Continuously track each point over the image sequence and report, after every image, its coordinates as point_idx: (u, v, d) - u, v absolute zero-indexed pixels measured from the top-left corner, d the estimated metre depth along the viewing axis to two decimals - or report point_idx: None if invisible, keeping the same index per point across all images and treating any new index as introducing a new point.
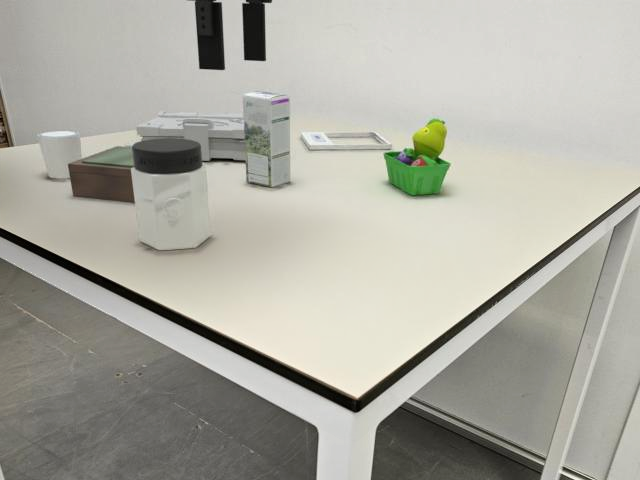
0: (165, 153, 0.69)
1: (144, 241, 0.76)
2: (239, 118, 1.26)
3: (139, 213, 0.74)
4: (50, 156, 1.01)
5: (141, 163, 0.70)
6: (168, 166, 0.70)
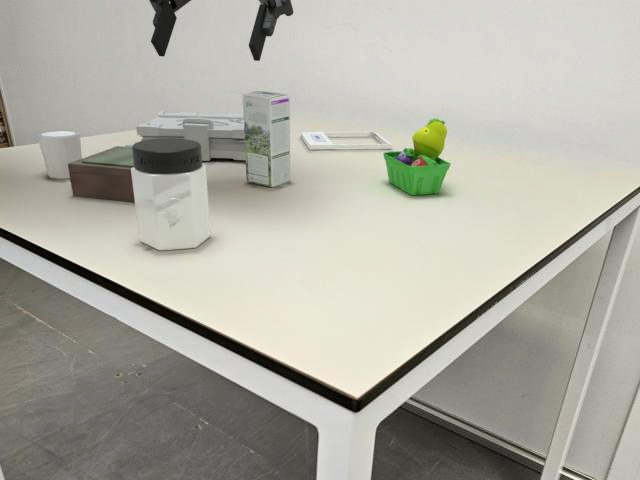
0: (165, 153, 0.69)
1: (144, 241, 0.76)
2: (239, 118, 1.26)
3: (139, 213, 0.74)
4: (50, 156, 1.01)
5: (141, 163, 0.70)
6: (168, 166, 0.70)
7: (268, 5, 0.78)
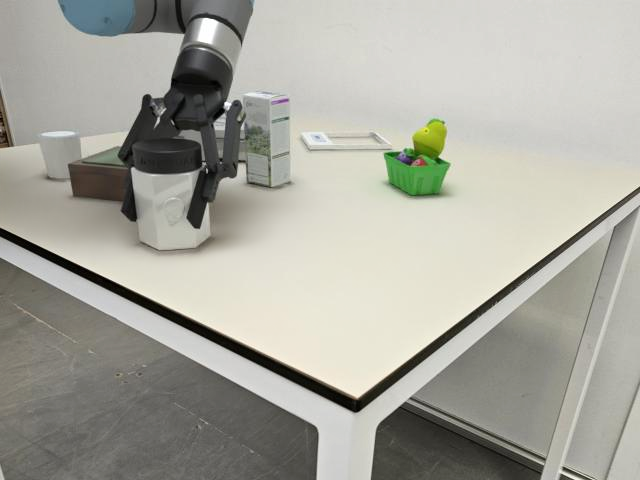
0: (165, 153, 0.69)
1: (144, 241, 0.76)
2: None
3: (139, 213, 0.74)
4: (50, 156, 1.01)
5: (141, 163, 0.70)
6: (168, 166, 0.70)
7: (208, 170, 0.73)
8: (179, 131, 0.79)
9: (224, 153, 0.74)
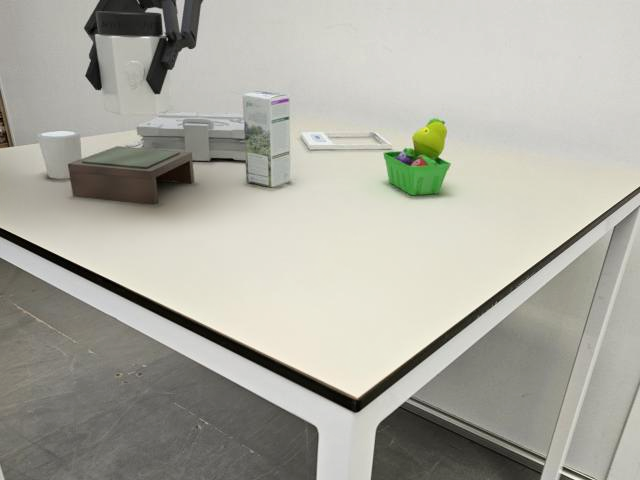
0: (125, 14, 0.74)
1: (108, 109, 0.81)
2: (239, 118, 1.26)
3: (103, 80, 0.79)
4: (50, 156, 1.01)
5: (103, 25, 0.75)
6: (128, 28, 0.74)
7: (167, 38, 0.78)
8: (144, 10, 0.83)
9: (183, 22, 0.78)
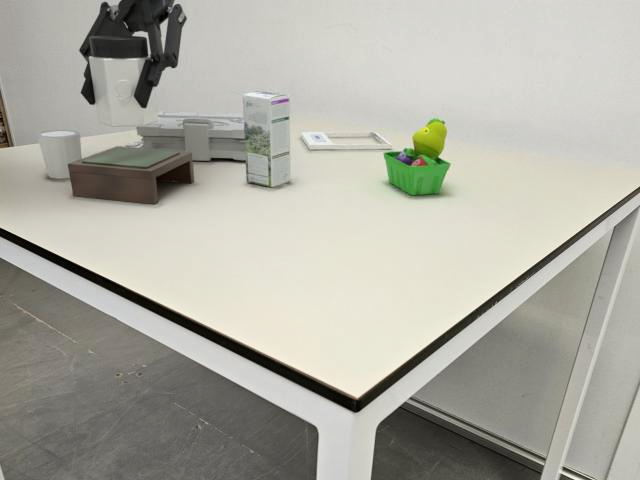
0: (115, 40, 0.85)
1: (101, 121, 0.92)
2: (239, 118, 1.26)
3: (96, 96, 0.90)
4: (50, 156, 1.01)
5: (96, 49, 0.86)
6: (118, 51, 0.86)
7: (152, 59, 0.89)
8: (131, 33, 0.95)
9: (166, 45, 0.89)
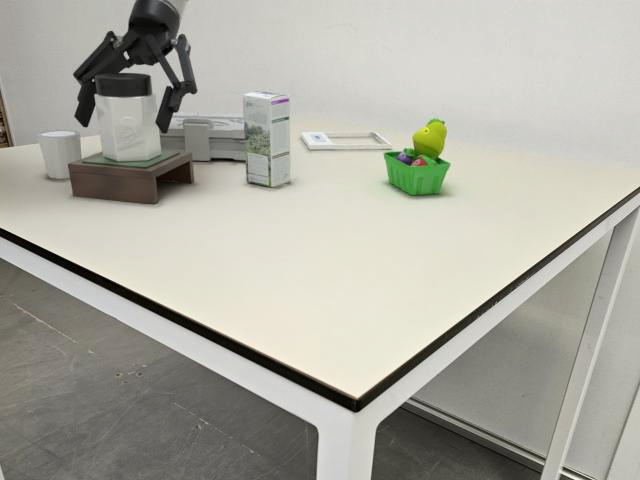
0: (120, 79, 0.87)
1: (106, 156, 0.94)
2: (239, 118, 1.26)
3: (102, 132, 0.93)
4: (50, 156, 1.01)
5: (101, 88, 0.88)
6: (123, 90, 0.88)
7: (174, 86, 0.91)
8: (131, 64, 0.97)
9: (184, 73, 0.91)
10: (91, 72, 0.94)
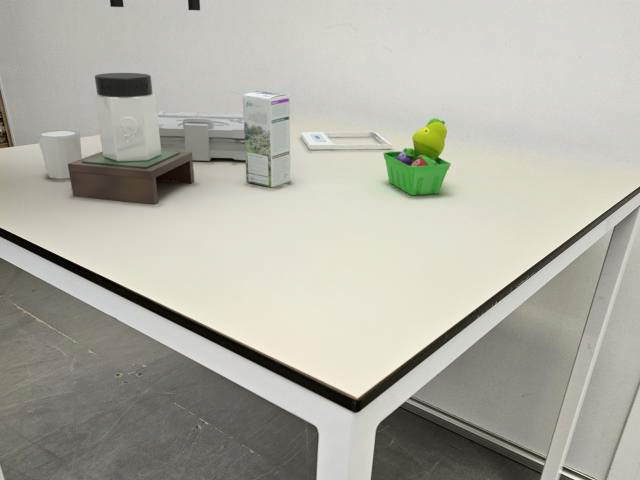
0: (120, 79, 0.87)
1: (106, 156, 0.94)
2: (239, 118, 1.26)
3: (102, 132, 0.93)
4: (50, 156, 1.01)
5: (101, 88, 0.88)
6: (123, 90, 0.88)
7: None
8: None
9: None
10: None
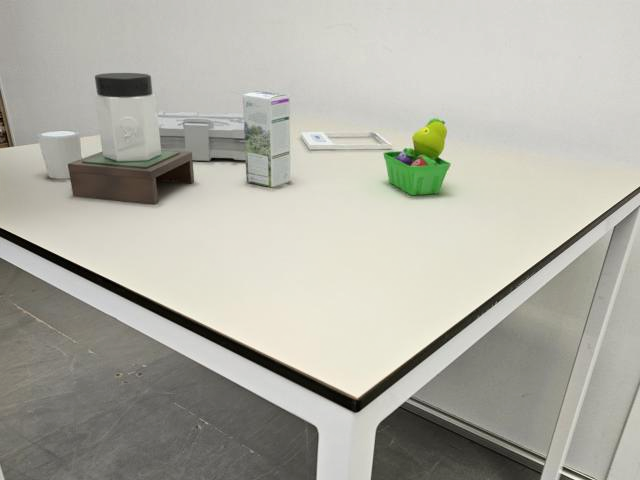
0: (120, 79, 0.87)
1: (106, 156, 0.94)
2: (239, 118, 1.26)
3: (102, 132, 0.93)
4: (50, 156, 1.01)
5: (101, 88, 0.88)
6: (123, 90, 0.88)
7: None
8: None
9: None
10: None
